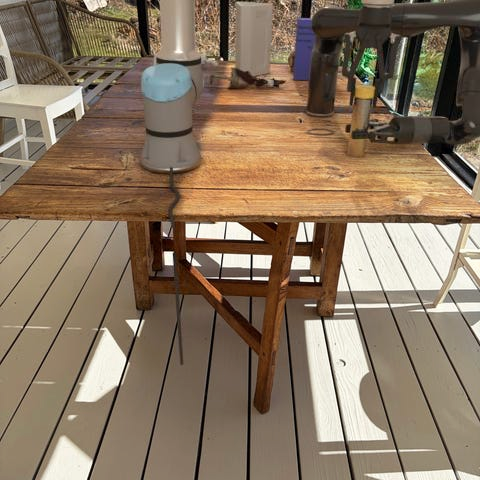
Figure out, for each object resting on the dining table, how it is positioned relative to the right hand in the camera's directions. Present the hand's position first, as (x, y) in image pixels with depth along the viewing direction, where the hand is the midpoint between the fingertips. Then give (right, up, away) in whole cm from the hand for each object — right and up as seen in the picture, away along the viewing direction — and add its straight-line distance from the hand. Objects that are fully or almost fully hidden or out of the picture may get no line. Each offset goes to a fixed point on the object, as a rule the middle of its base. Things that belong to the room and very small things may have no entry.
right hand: (349, 131), depth 127 cm
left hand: (+3, +6, -3) cm, 8 cm away
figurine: (-26, +32, +65) cm, 77 cm away
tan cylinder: (+3, -5, +4) cm, 7 cm away
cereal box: (+3, +41, +80) cm, 90 cm away
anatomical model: (-3, +51, +96) cm, 109 cm away
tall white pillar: (-23, +48, +90) cm, 105 cm away
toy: (-54, +52, +98) cm, 123 cm away
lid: (+3, +10, -6) cm, 12 cm away
